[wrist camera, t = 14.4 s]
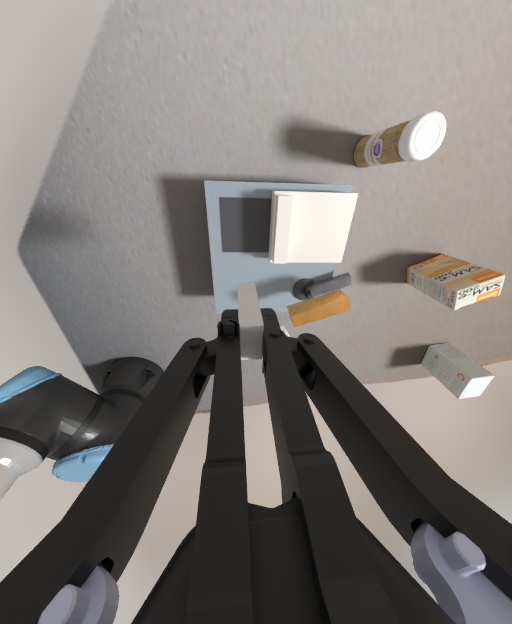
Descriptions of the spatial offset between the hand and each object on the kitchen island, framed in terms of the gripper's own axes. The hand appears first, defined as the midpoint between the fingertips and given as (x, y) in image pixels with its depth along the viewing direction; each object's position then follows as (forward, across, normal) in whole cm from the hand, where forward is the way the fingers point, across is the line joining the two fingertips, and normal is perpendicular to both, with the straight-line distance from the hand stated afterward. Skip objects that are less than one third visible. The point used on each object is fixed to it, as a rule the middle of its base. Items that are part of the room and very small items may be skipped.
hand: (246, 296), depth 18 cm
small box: (+27, +60, -34) cm, 74 cm away
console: (+26, +6, -2) cm, 27 cm away
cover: (+18, +11, +3) cm, 22 cm away
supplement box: (+27, +43, -7) cm, 51 cm away
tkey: (+18, +14, -7) cm, 23 cm away
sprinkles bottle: (+27, +22, +14) cm, 37 cm away
